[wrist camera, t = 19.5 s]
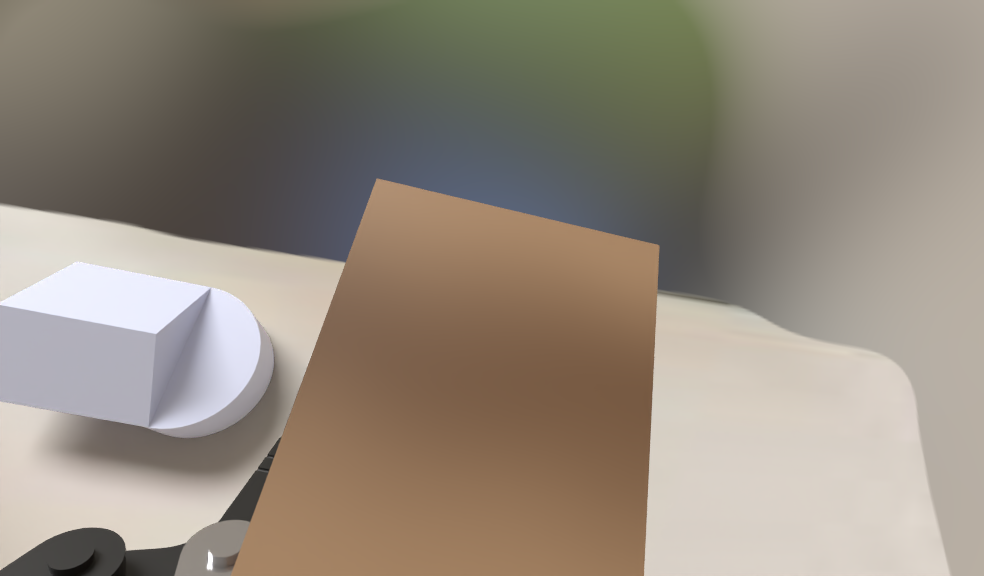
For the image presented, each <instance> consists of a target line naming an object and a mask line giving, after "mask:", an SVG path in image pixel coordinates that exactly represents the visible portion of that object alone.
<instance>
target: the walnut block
mask: <svg viewBox="0 0 984 576" xmlns="http://www.w3.org/2000/svg"><path fill="white" fill-rule="evenodd" d="M658 260H659V245H656V244H651V243H647V242H643V241H639V240H634V239H630V238H626V237H622V236H617V235H613V234H609V233H605V232H601V231H596V230H592V229H588V228H584V227H580V226H575V225H571V224H567V223H562V222H558V221H554V220H550V219H546V218H541V217H537V216H533V215H529V214H525V213H520V212H516V211H512V210H508V209H503V208H499V207H495V206H491V205H487V204H482V203H478V202H474V201H470V200H466V199H461V198H457V197H453V196H448V195H444V194H440V193H436V192H432V191H427V190H423V189H419V188H415V187H411V186H407V185H402V184H398V183H394V182H390V181H385V180H381V179H377V180H376V183H375V185H374V188H373V190H372V193H371V196H370V199H369V201H368V204H367V207H366V209H365V212H364V215H363V218H362V220H361V223H360V226H359V228H358V231H357V234H356V237H355V239H354V242H353V245H352V247H351V250H350V253H349V256H348V258H347V261H346V264H345V266H344V269H343V272H342V275H341V277H340V280H339V283H338V285H337V288H336V291H335V294H334V296H333V299H332V302H331V304H330V307H329V310H328V313H327V315H326V318H325V321H324V323H323V326H322V329H321V332H320V334H319V337H318V340H317V342H316V345H315V348H314V351H313V353H312V356H311V359H310V361H309V364H308V367H307V370H306V372H305V375H304V378H303V381H302V383H301V386H300V389H299V391H298V394H297V397H296V400H295V402H294V405H293V408H292V410H291V413H290V416H289V419H288V421H287V424H286V427H285V429H284V432H283V435H282V438H281V440H280V443H279V446H278V448H277V451H276V454H275V457H274V459H273V462H272V465H271V467H270V470H269V473H268V476H267V478H266V481H265V484H264V486H263V489H262V492H261V495H260V497H259V500H258V503H257V505H256V508H255V511H254V514H253V516H252V519H251V522H250V524H249V527H248V530H247V533H246V535H245V538H244V541H243V543H242V546H241V549H240V552H239V554H238V557H237V560H236V562H235V565H234V568H233V571H232V573H231V576H644V561H645V540H646V518H647V497H648V476H649V454H650V433H651V412H652V391H653V369H654V348H655V327H656V305H657V283H658V263H659V261H658Z"/></svg>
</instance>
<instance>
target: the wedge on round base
mask: <svg viewBox="0 0 984 576" xmlns="http://www.w3.org/2000/svg"><path fill="white" fill-rule="evenodd" d="M273 369H274V351H273V347H272V343H271V340H270V338H269V336H268V334H267V332H266V331H265V329H264V328H263V327H262V325H261V324H260V323H259V321H258V320H257V319H256V317H255V316H254V315H253V314H252V312H251V311H250V310H249V309H248V308H247V306H246V305H245V304H244V303H243V302H241V301H240V300H239V299H238V298H236V297H235V296H233V295H231V294H229V293H227V292H225V291H222V290H219V289H216V288H212V287H207V286H201V285H196V284H191V283H186V282H181V281H175V280H170V279H165V278H160V277H154V276H149V275H144V274H139V273H134V272H128V271H123V270H118V269H113V268H108V267H102V266H97V265H92V264H87V263H81V262H75V263H73V264H71V265H70V266H68V267H66V268H64V269H62V270H60V271H58V272H56V273H55V274H53V275H51V276H49V277H47V278H45V279H43V280H41V281H39V282H38V283H36V284H34V285H32V286H30V287H28V288H26V289H24V290H22V291H21V292H19V293H17V294H15V295H13V296H11V297H9V298H7V299H5V300H4V301H2V302H0V401H1V402H7V403H13V404H18V405H24V406H30V407H35V408H41V409H47V410H52V411H58V412H64V413H69V414H75V415H80V416H86V417H92V418H97V419H103V420H109V421H114V422H120V423H126V424H131V425H137V426H142V427H145V428H148V429H150V430H153V431H156V432H159V433H161V434H164V435H168V436H172V437H179V438H196V437H202V436H207V435H211V434H214V433H217V432H219V431H222V430H224V429H226V428H228V427H230V426H232V425H233V424H235V423H237V422H238V421H239V420H241V419H242V418H244V417H245V416H246V415H247V414H248V413H249V412H250V411H251V410H252V409H253V408H254V407H255V406H256V405H257V404H258V402H259V401H260V399H261V398H262V397H263V395H264V393H265V392H266V390H267V388H268V386H269V383H270V380H271V377H272V373H273Z"/></svg>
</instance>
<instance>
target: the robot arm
mask: <svg viewBox="0 0 984 576" xmlns="http://www.w3.org/2000/svg"><path fill="white" fill-rule="evenodd" d="M281 438H282V437H281ZM281 438H279V440H278V441H277V442H276V444H275V445H274V446H273V448H272V449H271V451H270V452H269V453H268V456H267V457H265V459H264V460H263V462H262V463H261V464H260V466H259V467H258V470H257V471H255V473H254V474H253V475H252V477H251V478H250V479H249V481H248V482H247V484H246V485H245V486H244V488H243V489H242V490H241V492H240V493H239V495H238V496H237V497H236V499H235V500H234V501H233V503H232V504H231V506H230V507H229V508H228V510H227V511H226V512H225V514H224V515H223V517H222V518H221V519H220V521H219V522H218V523H215V524H212V525H209V526H207V527H205V528H203V529H202V530H200V531H199V532H197V533H196V534H195V535H193V536H192V537H191V538H190V539H189V540H188V542H187V543H185V544H181V545H178V546H174V547H168V548H159V549H145V550H131V551H126V548H125V543H124V541H123V539H122V538H121V537H120V536H119V535H118V534H117V533H115V532H113V531H111V530H108V529H103V528H82V529H76V530H72V531H68V532H65V533H62V534H59V535H57V536H54V537H52V538H50V539H48V540H46V541H45V542H43V543H41V544H40V545H38V546H36V547H35V548H33V549H32V550H30V551H29V552H27V553H26V554H24V555H23V556H21V557H20V558H18V559H17V560H15V561H14V562H12V563H11V564H9V565H8V566H6V567H5V568H3V569H2V570H0V576H231V573H232V571H233V568H234V565H235V562H236V560H237V557H238V554H239V552H240V549H241V546H242V543H243V541H244V538H245V535H246V533H247V530H248V527H249V524H250V522H251V519H252V516H253V514H254V511H255V508H256V505H257V503H258V500H259V497H260V495H261V492H262V489H263V486H264V484H265V481H266V478H267V476H268V473H269V470H270V467H271V465H272V462H273V459H274V457H275V454H276V451H277V448H278V446H279V443H280V440H281Z"/></svg>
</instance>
